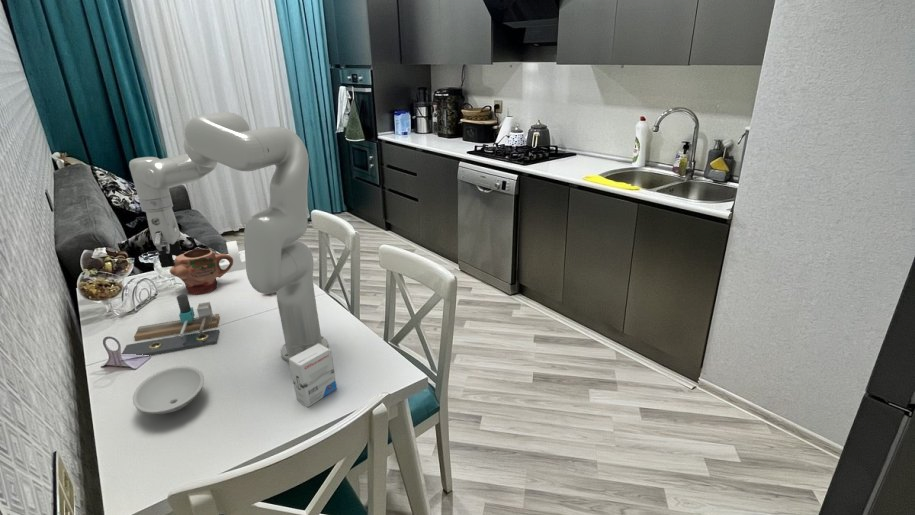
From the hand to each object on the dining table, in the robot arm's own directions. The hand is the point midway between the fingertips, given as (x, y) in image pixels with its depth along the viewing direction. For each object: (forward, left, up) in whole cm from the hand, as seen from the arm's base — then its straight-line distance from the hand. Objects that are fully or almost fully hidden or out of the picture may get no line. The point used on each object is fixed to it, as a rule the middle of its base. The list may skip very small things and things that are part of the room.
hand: (172, 260), depth 136 cm
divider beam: (-4, +3, -22) cm, 23 cm away
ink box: (-47, -35, -22) cm, 63 cm away
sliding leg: (-4, 0, -20) cm, 21 cm away
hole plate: (-10, +3, -22) cm, 25 cm away
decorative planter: (+29, -1, -22) cm, 36 cm away
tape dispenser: (+47, -9, -23) cm, 53 cm away
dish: (-39, -3, -22) cm, 45 cm away
